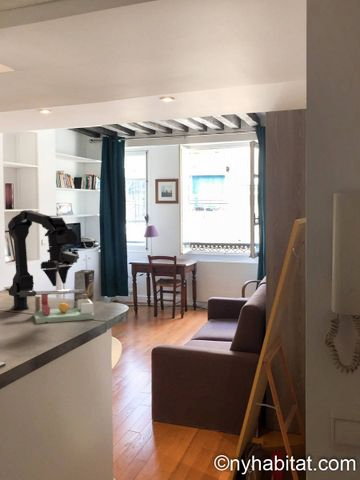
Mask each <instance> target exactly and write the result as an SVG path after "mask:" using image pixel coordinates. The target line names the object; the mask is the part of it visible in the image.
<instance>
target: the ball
mask: <svg viewBox="0 0 360 480" xmlns="http://www.w3.org/2000/svg"><path fill="white" fill-rule="evenodd" d="M68 308H70V307H69V304H68V303H66V302H62V303H60V304H59V305H58V309H59V310H60V311H61V312H66V311H68Z"/></svg>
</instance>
